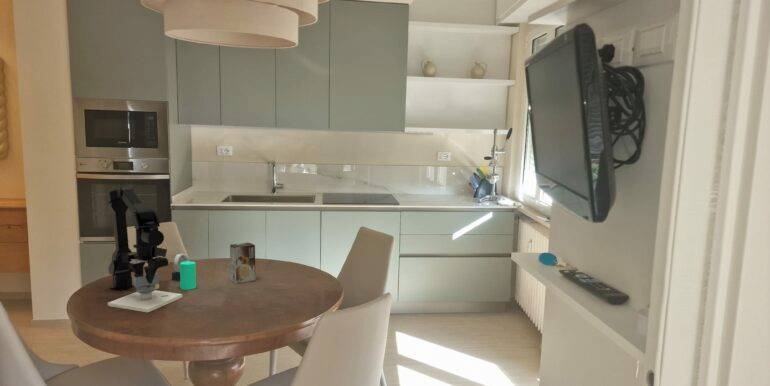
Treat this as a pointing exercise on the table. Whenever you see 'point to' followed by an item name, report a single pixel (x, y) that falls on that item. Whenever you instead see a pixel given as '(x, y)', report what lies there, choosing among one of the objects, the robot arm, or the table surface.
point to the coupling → (145, 283)
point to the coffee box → (242, 262)
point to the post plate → (145, 300)
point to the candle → (187, 275)
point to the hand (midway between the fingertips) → (145, 282)
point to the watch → (180, 259)
